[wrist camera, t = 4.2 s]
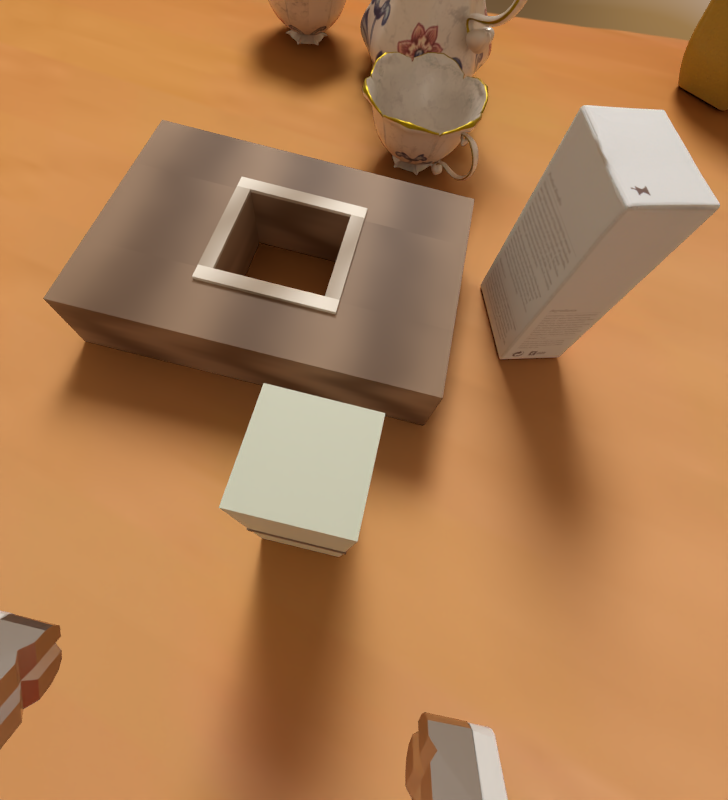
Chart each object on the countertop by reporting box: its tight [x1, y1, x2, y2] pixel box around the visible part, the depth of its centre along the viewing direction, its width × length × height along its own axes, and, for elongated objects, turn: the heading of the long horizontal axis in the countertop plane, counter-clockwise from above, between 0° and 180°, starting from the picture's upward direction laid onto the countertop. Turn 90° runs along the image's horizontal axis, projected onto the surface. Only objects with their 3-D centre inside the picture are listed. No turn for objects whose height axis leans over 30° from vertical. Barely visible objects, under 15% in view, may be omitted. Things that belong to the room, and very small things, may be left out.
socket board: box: [43, 120, 474, 425], centre depth 25 cm, size 20×14×4 cm
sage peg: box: [219, 383, 385, 557], centre depth 17 cm, size 4×4×10 cm
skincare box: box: [481, 105, 720, 359], centre depth 22 cm, size 6×4×12 cm
